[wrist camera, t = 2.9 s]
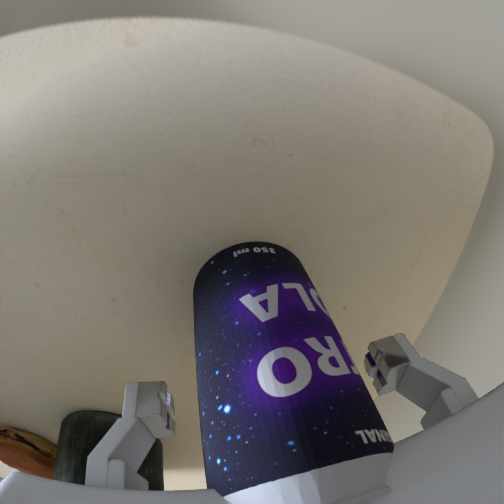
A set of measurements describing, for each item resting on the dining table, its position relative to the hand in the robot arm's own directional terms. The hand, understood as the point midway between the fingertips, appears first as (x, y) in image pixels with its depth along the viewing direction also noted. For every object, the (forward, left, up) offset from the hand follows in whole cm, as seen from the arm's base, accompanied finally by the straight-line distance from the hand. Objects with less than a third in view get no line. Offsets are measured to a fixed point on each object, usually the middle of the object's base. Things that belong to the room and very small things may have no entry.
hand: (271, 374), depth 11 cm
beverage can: (0, 0, -6) cm, 6 cm away
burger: (+35, -6, -6) cm, 36 cm away
